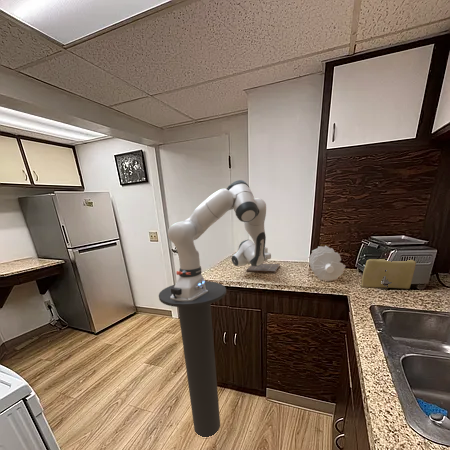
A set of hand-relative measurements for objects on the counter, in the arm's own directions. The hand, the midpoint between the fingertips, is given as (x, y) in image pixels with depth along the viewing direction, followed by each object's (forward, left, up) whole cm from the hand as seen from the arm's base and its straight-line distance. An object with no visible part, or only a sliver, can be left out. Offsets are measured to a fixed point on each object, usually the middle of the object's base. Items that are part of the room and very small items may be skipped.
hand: (264, 253), depth 175 cm
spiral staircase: (-13, -40, -11) cm, 44 cm away
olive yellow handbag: (-26, -70, -11) cm, 76 cm away
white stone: (-1, 0, -5) cm, 5 cm away
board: (-1, +1, -11) cm, 11 cm away
